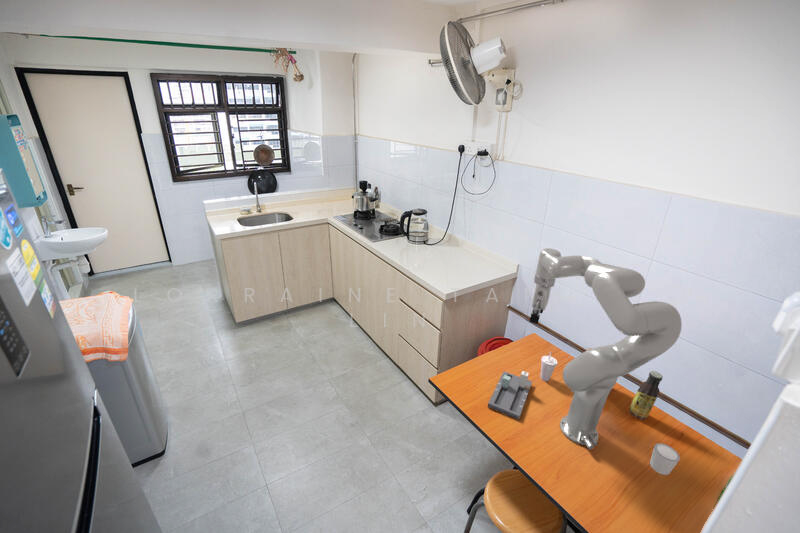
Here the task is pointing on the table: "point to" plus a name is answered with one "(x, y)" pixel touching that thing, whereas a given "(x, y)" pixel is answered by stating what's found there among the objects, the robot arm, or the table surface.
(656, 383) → the sauce bottle
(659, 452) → the white short cylinder
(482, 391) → the table surface
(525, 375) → the block
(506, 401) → the console
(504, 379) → the fader teal
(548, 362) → the smoothie
